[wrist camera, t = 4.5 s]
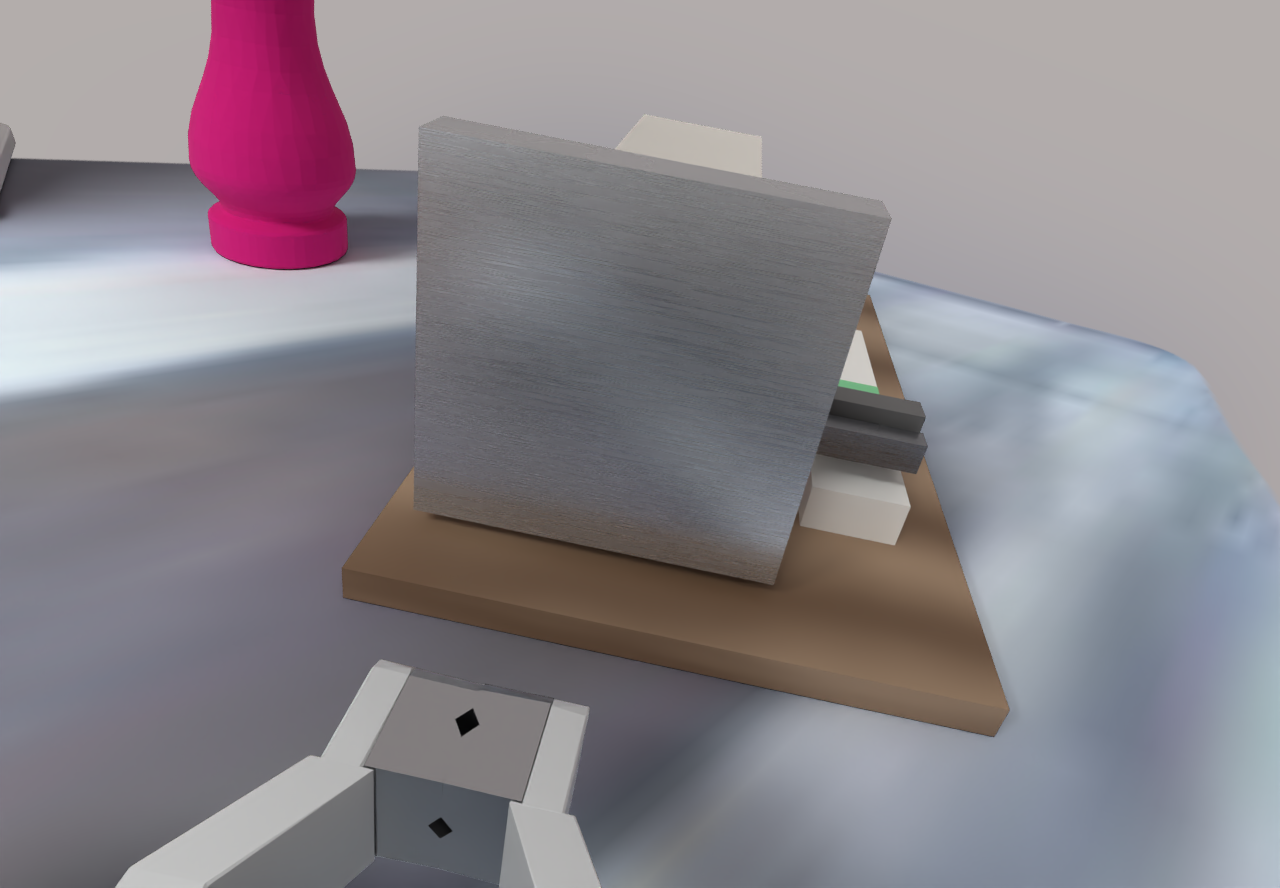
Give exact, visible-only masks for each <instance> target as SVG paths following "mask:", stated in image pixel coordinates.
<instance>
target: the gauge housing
mask: <svg viewBox="0 0 1280 888" xmlns="http://www.w3.org/2000/svg"><path fill="white" fill-rule="evenodd" d="M615 149H616V150H621V151H626V152H631V153H636V154H642V155H647V156H652V157H657V158H662V159H667V160H673V161H678V162H683V163H688V164H693V165H698V166H703V167H709V168H714V169H719V170H724V171H729V172H734V173H740V174H745V175H750V176H755V177H760V178H762V137H760V136H755V135H750V134H744V133H739V132H734V131H729V130H723V129H718V128H713V127H708V126H703V125H698V124H692V123H687V122H682V121H677V120H672V119H666V118H661V117H656V116H651V115H646V114H644V115H643V116H642V118H641V119H640V120H639V121H638V122H637V124H636V125H635V126H634V127H633V128H632V129H631V130H630V132H629V133H628V134H627V135H626V136H625V138H624V139H623V140H622V141H621V142H620V143H619V145H618V146H617V147H616V148H615Z"/></svg>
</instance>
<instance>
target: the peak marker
mask: <svg viewBox="0 0 1280 888" xmlns="http://www.w3.org/2000/svg"><path fill="white" fill-rule="evenodd" d="M829 414H830V415H835V416H840V417H844V418H849V419H854V420H859V421H864V422H869V423H874V424H879V425H884V426H889V427H894V428H899V429H904V430H909V431H914V432H918V433H920V431H921V428H922V426H923V423H924V421H925V418H926V417H925V414H924V412H923V409H922V406H921V403H920V402H915V401H910V400H905V399H900V398H895V397H890V396H885V395H880V394H875V393H870V392H865V391H860V390H855V389H850V388H845V387H840V386H838V387H837V390H836V393H835V396H834V399H833V402H832V405H831V409H830V412H829Z"/></svg>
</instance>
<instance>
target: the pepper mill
mask: <svg viewBox="0 0 1280 888" xmlns="http://www.w3.org/2000/svg"><path fill="white" fill-rule="evenodd" d="M211 21H212V22H211V24H212V33H211V40H210V48H209V55H208V59H207V63H206V67H205V70H204V74H203V77H202V80H201V83H200V86H199V89H198V93H197V95H196V99H195V101H194V105H193V108H192V111H191V118H190V124H189V130H188V143H189V144H188V145H189V161H190V165H191V168H192V170H193V172H194V174H195V175H196V177H197V178H198V179H199V180H200V181H201V183H202V184H203V185H204V186H205V187H207V188H208V189H209V190H210V191H211V192H212V193H213V194H214V195H215V196H216V197H217V198H218V199H219V202H217V203H215V204H214V205H213V206H212V207H211V208H210V209H209V211H208V219H209V227H210V235H211V243H212V246H213V248H214V249H215V250H216V252H217V253H218V254H220V255H222V256H223V257H225V258H227V259H229V260H232V261H235V262H238V263H242V264H246V265H250V266H256V267H264V268H272V269H297V268H311V267H315V266H320V265H324V264H329V263H331V262H334V261H336V260H338V259H339V258H341V257H342V256H343V255H345V253H346V251H347V249H348V238H347V218H346V216H345V214H344V213H343V212H342V211H341V210H340V209H338V208H337V207H335V205H336V203H337V202H338V201H339V200H340V198H341V197H342V196H343V195H344V194H345V193H346V192H347V191H348V189H349V188H350V186H351V185H352V183H353V181H354V178H355V173H356V167H355V158H354V149H353V143H352V139H351V136H350V132H349V129H348V125H347V122H346V120H345V117H344V115H343V113H342V111H341V108H340V106H339V104H338V101H337V99H336V97H335V94H334V92H333V90H332V87H331V85H330V82H329V79H328V77H327V74H326V72H325V69H324V66H323V62H322V58H321V55H320V51H319V47H318V43H317V34H316V26H315V19H314V0H211Z"/></svg>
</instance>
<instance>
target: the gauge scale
mask: <svg viewBox="0 0 1280 888" xmlns="http://www.w3.org/2000/svg"><path fill="white" fill-rule="evenodd" d="M838 386H840V387H845V388H850V389H855V390H860V391H865V392H870V393H875V394H879V391H878V387H877V385H876V381H875V377H874V374H873V370H872V367H871V363H870V360H869V356H868V352H867V349H866V345H865V342H864V338H863V335H862V331H859V330H856V331H855V334H854V337H853V340H852V343H851V346H850V350H849V353H848V356H847V359H846V362H845V365H844V368H843V371H842V374H841V378H840V381H839V384H838ZM910 507H911V506H910V502H909V499H908V495H907V492H906V488H905V485H904V481H903V477H902V474H901V471H897V470H892V469H888V468H883V467H878V466H873V465H868V464H863V463H858V462H853V461H848V460H844V459H839V458H834V457H829V456H824V455H819V454H816V455H815V458H814V461H813V464H812V468H811V471H810V474H809V477H808V480H807V483H806V486H805V489H804V492H803V496H802V499H801V502H800V505H799V522H800V526H803V527H808V528H813V529H818V530H822V531H827V532H832V533H837V534H842V535H847V536H851V537H856V538H861V539H866V540H871V541H875V542H880V543H885V544H890V545H895V544H896V541H897V539H898V537H899V534H900V532H901V529H902V527H903V524H904V522H905V520H906V517H907V515H908V512H909V510H910Z"/></svg>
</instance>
